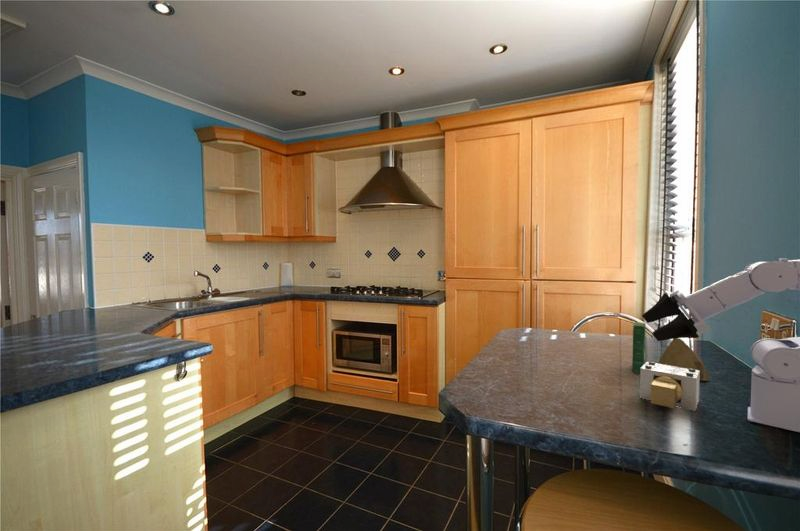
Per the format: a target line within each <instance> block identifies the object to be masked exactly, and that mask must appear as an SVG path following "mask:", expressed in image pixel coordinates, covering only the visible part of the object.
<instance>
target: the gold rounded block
mask: <svg viewBox="0 0 800 531" xmlns="http://www.w3.org/2000/svg"><path fill="white" fill-rule="evenodd" d="M682 394H683V391H682V387H681V380H678V379H673V378H670V377H667V376H660V377H657V378H656V379H654V380H653V382H652V383H651V401H650V404H654V405H658V406H663V407H666V408H670V409H675V405H676V403H677V402H678V401H679V400H680V399H681V397H682Z"/></svg>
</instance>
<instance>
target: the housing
mask: <svg viewBox="0 0 800 531" xmlns="http://www.w3.org/2000/svg"><path fill="white" fill-rule="evenodd" d="M639 374H640V376H639V377H640V378H639V379H640V380H639V399H640V398H643V399H642V400H644V399H646V400H645V401H649V400H651V383H652V382H653V380H654V379H656V378H657V377H660V376H667V377H670V378H673V379H678V380H681V387H682V391H683V394H682V397H681V399H680V400H679V401H678V402H677V403H676V405H675V406H678V407H677V408H679V407H681V408H680V409H683V408H685V409H684V410H689V411H693V412H696V410H697V408H698V406H697V405H699V403H698V402H700V382H701V380H700V371H699V370H695V369H692V368H689V369H687V368H681V367H675V366H669V365H664V364H659V362H658V363H657V362H655V361H645V364H644V365H643V366H642V367H641V372H640V373H639Z"/></svg>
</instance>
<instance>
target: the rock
mask: <svg viewBox="0 0 800 531" xmlns="http://www.w3.org/2000/svg"><path fill="white" fill-rule="evenodd" d="M658 364H664V365H669V366H675V367H681V368H687V369H689V368H692V369H695V370H699V371H700V381H704V382H708V381H710V376H709V371H708V369H706V366H705V363H704V362H703V361H702V360H701V358H700V357H699V355H697V353H696V352H695V351H694V350H693V349H692V348H691V347H689V345H687V343H685V341H684V340H683V339H682V338H674V339H671V341H670V342H669V345H668V346H666V348H665V350H664V352H663V354H662V355H661V357H659V361H658Z"/></svg>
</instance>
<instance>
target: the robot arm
mask: <svg viewBox="0 0 800 531" xmlns="http://www.w3.org/2000/svg"><path fill="white" fill-rule="evenodd" d="M787 289H789V290H792V291H793V290H794V291H795V290H797V291H798V290H800V259H788V258H787V257H783V258H782V257H781V258H778V261H776V260H773V261H757V262H754V263H753V262H751V263H749V264H748V265H747V266H745V268H744V270H742V271H739V272H737V273H735V274H734V275H728V276H727V277H725V278H723V279H720V280H718V281H716V282H714V283H711V284H710V285H707V286H705V287H703V288H701V289H698V290H697V291H695V292H692V293H690V294H687V295H686V296H685V295H684V294H683V292H681V291H680V290H676V291H674V292H671V293H669V295H668V293H667V292H665V293H663V294H662V296H661V297H660V299H659V300H658V301H657V302H656V303H655V304H654V305H653V306H652V307H650V308H649V309H648V310H646V311H645V312H644V313H643V314H641V316H642V318H643V319H644V321H645V322H646V323H647V324H650V323H653V322H656V321H660V320H663V319H664V318H669V317H675V318H674V319H672V320H671V321H669V322H668V323H666V324H664V325H663V326H661V327H659V328H657V329H655V330H654V331H652V333H651V334H652V335H653V337H654V338H655V340H656V341H657V342H662V341H667V340H673V339H674V338H679V339H684V338H685V339H687V338H688V339H698V338H700V336H699V334H700V335H702V334H704V333H706V332H709V331H711V330H712V329H711V328H710V327H709V325H708V324H707V322H706V321H705V320H707V319H709V318H711V317H715V316H716V315H719V314H721V313H723V312H725V311H728V310H730V309H732V308H735V307H737V306H740V305H742V304H746V303H747V302H749V301H751V300H752V299H754V298H757V297H760V296H762V295H765V293H766V292H773V293H781V292H783V291H786V290H787ZM687 310H688V312H689V313H688V312H687ZM698 333H699V334H698ZM749 349H750V350H749V354H750V357H751V359H752V360H753V362H755V363H756V365H755V366H754V367H753V368H752V369H751V382H750V383H751V386H750V388H751V389H750V406H747V421H748V422H753V423H757V424H760V425H766V426H770V427H775V428H780V429H783V430H788V431H793V432H797V433H800V336H794V337H786V338H782V339H781V338H780V339H779V338H778V339H776V338H771V337H770V338H768V337H767V338H761V339H759V340H757V341H755V342H754V343H753V344H752V345H751V347H750V348H749Z"/></svg>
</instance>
